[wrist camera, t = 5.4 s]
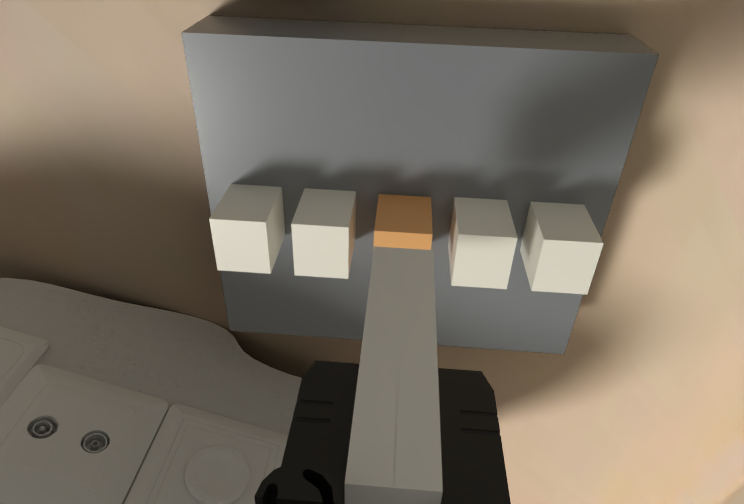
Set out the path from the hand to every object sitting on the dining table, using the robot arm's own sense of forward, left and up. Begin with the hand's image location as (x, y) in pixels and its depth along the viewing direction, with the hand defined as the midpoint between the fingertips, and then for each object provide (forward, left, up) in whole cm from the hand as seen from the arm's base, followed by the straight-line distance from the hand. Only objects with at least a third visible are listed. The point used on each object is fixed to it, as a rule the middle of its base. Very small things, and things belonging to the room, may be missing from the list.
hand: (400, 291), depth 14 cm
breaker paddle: (+1, 0, -5) cm, 5 cm away
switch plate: (+1, 0, -8) cm, 8 cm away
